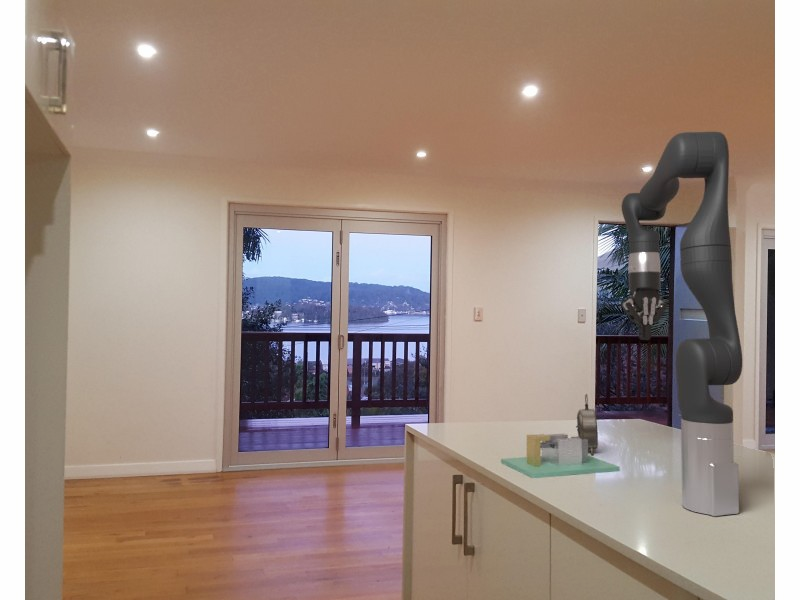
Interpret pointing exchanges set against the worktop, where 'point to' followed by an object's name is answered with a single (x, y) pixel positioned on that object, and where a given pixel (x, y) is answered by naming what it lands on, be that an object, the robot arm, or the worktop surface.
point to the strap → (547, 444)
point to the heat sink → (566, 451)
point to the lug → (535, 448)
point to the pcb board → (552, 470)
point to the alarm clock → (588, 426)
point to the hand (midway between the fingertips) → (644, 339)
